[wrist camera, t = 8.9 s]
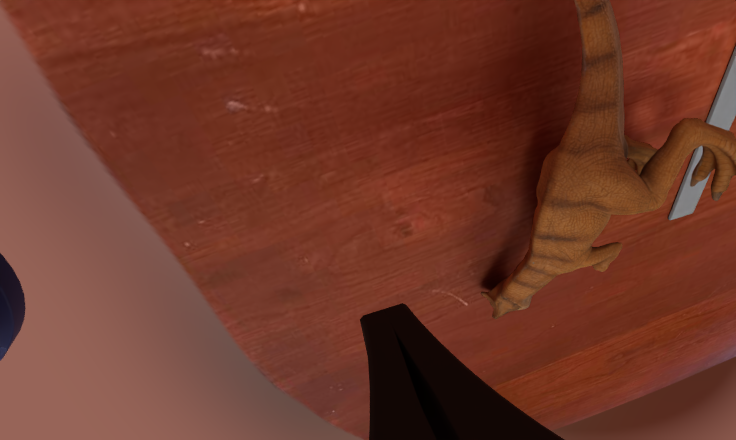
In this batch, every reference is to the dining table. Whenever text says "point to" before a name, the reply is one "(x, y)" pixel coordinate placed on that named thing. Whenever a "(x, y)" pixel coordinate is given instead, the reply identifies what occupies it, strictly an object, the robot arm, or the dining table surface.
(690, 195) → the tape line
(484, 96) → the dining table surface
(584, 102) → the dinosaur figurine
